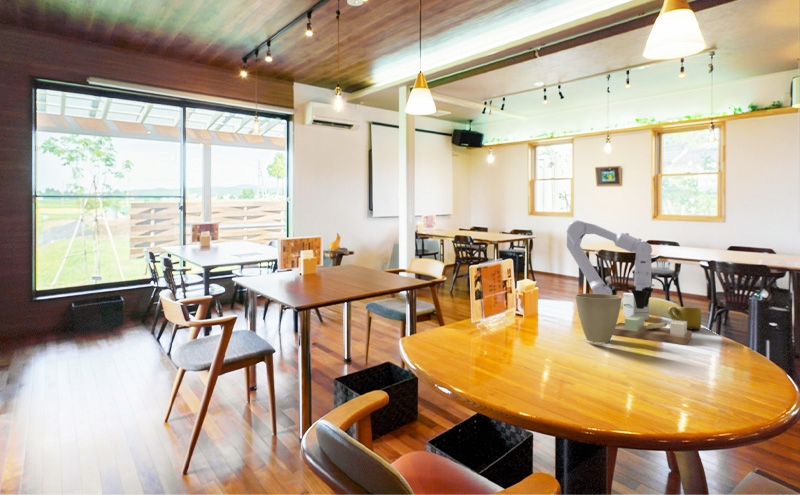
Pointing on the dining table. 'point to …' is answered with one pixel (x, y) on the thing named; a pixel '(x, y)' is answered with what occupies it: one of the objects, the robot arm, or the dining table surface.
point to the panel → (653, 334)
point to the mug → (687, 316)
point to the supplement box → (633, 307)
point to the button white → (678, 327)
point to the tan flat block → (656, 325)
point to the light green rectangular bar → (634, 322)
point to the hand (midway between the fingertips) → (642, 307)
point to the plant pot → (598, 315)
